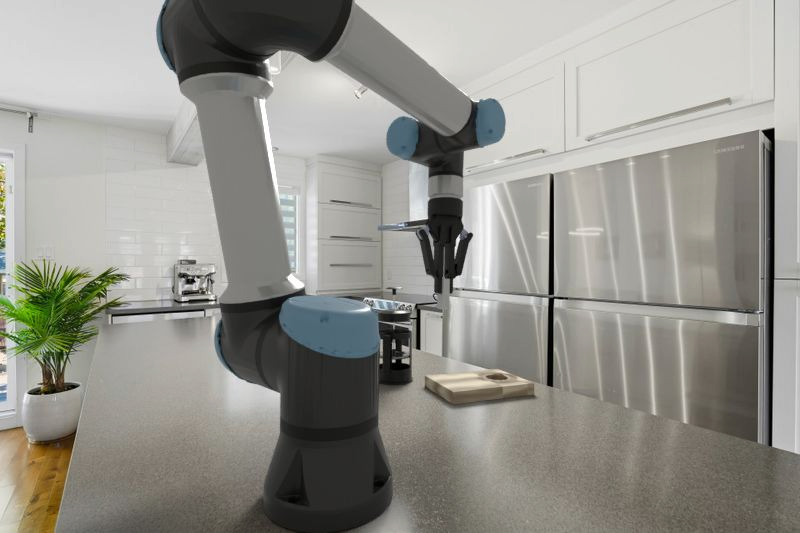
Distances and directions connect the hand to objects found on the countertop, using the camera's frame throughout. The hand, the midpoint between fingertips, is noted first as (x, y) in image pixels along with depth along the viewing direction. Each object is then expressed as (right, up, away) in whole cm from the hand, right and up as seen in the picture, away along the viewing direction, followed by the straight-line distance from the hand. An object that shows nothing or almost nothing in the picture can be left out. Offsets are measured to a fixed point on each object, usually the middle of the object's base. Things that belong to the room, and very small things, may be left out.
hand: (443, 309), depth 88 cm
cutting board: (+8, -19, +6) cm, 22 cm away
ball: (+14, -17, +8) cm, 23 cm away
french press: (-11, -19, +14) cm, 26 cm away
